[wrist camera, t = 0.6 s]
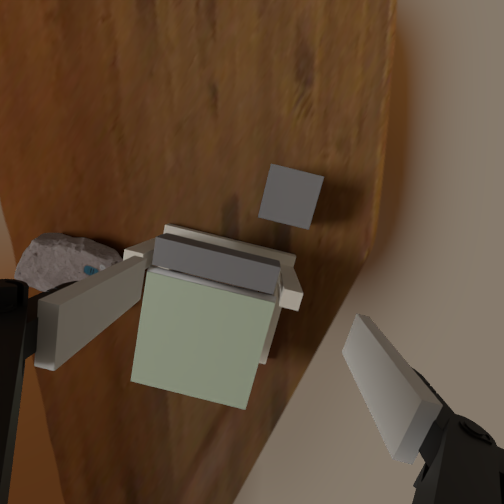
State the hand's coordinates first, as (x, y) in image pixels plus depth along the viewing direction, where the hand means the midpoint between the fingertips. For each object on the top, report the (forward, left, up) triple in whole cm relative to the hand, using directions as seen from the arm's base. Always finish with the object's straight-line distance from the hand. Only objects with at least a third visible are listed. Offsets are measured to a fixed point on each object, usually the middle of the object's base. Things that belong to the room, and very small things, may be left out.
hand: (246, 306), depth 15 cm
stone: (+10, -24, -22) cm, 34 cm away
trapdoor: (+9, -4, -13) cm, 16 cm away
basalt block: (-7, +2, -22) cm, 23 cm away
